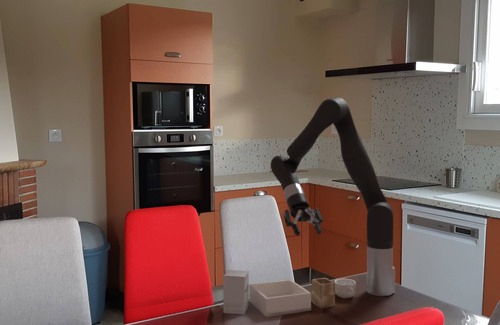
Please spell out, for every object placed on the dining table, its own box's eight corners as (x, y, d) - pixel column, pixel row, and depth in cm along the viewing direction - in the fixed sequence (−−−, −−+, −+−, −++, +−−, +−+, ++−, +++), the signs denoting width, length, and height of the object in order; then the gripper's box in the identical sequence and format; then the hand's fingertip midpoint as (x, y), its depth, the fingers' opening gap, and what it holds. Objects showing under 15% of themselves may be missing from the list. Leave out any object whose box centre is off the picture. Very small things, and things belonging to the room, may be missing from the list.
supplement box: (244, 314, 164) (244, 276, 163) (222, 313, 165) (222, 275, 165) (249, 307, 171) (249, 270, 170) (228, 305, 173) (227, 269, 172)
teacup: (330, 294, 184) (330, 279, 184) (349, 292, 186) (349, 277, 186) (343, 303, 175) (343, 287, 174) (362, 300, 177) (362, 285, 176)
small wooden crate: (325, 299, 178) (325, 277, 177) (334, 305, 172) (334, 282, 171) (311, 301, 176) (311, 279, 176) (320, 308, 170) (320, 284, 169)
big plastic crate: (290, 295, 182) (290, 279, 182) (310, 310, 167) (311, 293, 167) (249, 301, 177) (249, 284, 176) (266, 317, 162) (266, 298, 161)
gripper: (281, 193, 187) (294, 229, 177) (315, 191, 192) (330, 226, 182) (275, 205, 192) (288, 241, 182) (309, 203, 197) (322, 238, 187)
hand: (309, 234), depth 182 cm, fingers open, 8 cm apart
